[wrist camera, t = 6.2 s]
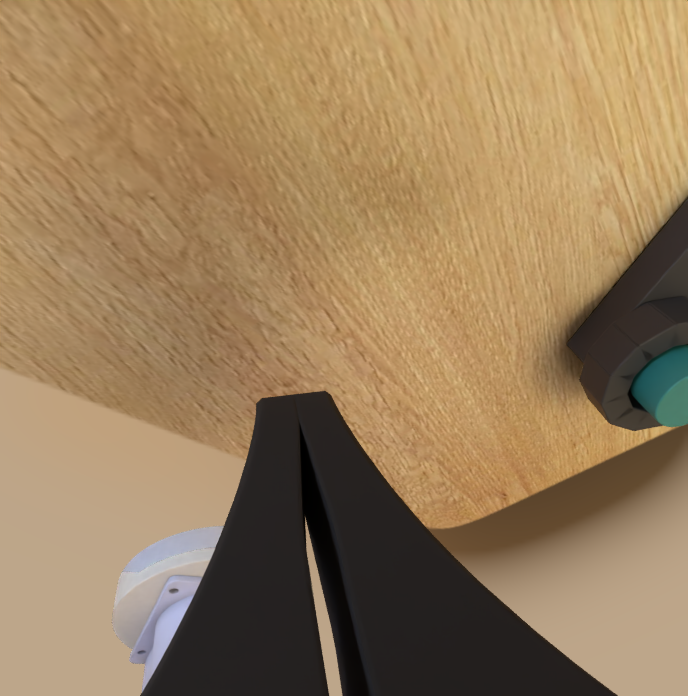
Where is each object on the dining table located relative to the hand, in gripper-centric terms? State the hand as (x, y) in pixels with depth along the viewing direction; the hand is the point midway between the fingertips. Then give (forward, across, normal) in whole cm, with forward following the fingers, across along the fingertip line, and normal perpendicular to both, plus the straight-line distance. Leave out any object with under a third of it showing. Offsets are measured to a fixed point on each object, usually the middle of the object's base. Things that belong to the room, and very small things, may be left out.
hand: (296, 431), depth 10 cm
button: (+7, -17, +7) cm, 19 cm away
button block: (+10, -19, +5) cm, 23 cm away
